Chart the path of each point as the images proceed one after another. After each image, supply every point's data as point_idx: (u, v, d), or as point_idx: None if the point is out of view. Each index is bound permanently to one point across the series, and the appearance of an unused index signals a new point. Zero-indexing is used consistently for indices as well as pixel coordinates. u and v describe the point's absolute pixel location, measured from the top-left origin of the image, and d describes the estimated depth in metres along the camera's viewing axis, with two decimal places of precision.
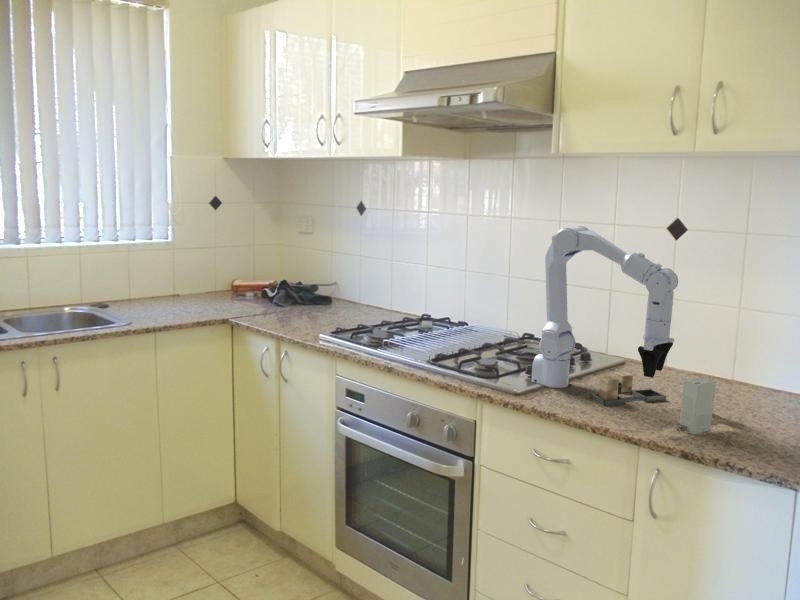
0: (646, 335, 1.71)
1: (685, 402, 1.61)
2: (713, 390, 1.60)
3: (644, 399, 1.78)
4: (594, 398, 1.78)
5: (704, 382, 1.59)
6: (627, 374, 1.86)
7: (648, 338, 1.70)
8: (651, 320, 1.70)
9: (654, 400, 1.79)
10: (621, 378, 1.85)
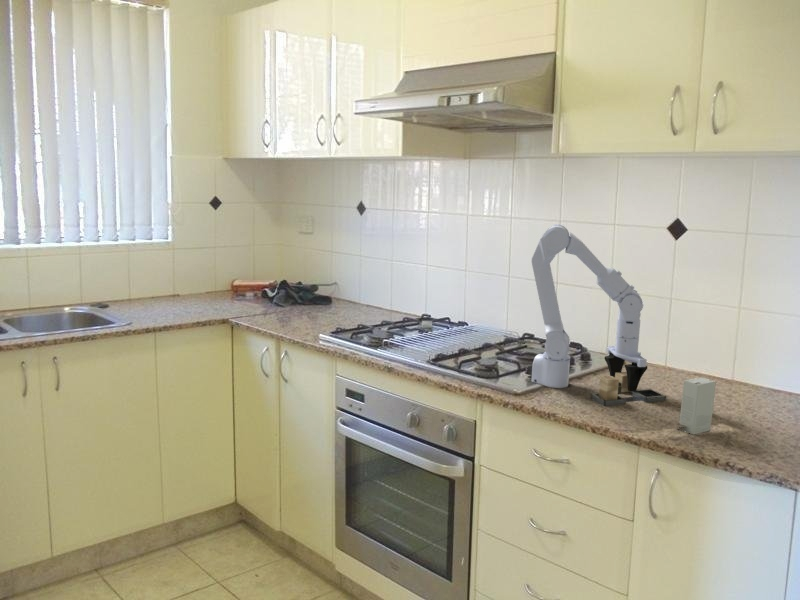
0: (624, 353, 1.83)
1: (685, 402, 1.61)
2: (713, 390, 1.60)
3: (644, 399, 1.78)
4: (594, 398, 1.78)
5: (704, 382, 1.59)
6: None
7: (628, 356, 1.83)
8: (630, 339, 1.82)
9: (654, 400, 1.79)
10: (621, 378, 1.85)
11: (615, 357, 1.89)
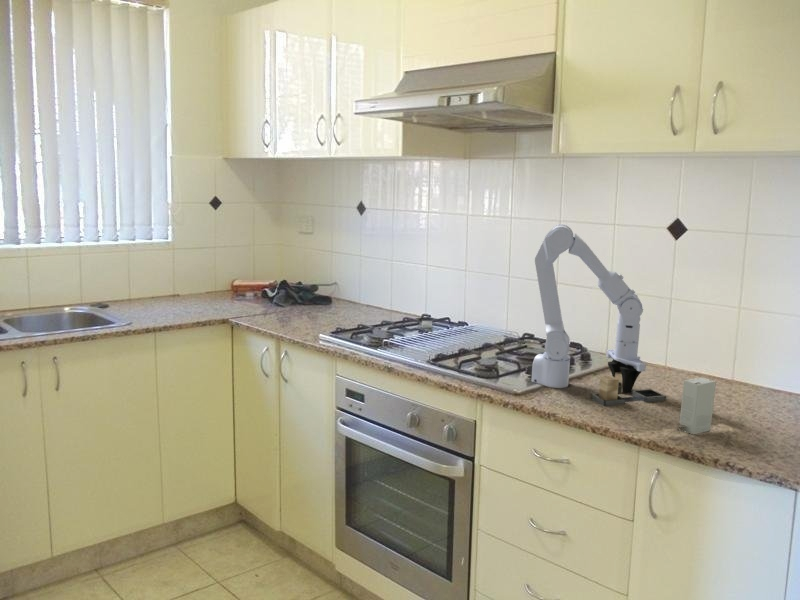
0: (624, 357, 1.83)
1: (685, 402, 1.61)
2: (713, 390, 1.60)
3: (644, 399, 1.78)
4: (594, 398, 1.78)
5: (704, 382, 1.59)
6: None
7: (627, 360, 1.83)
8: (630, 343, 1.82)
9: (654, 400, 1.79)
10: (621, 378, 1.85)
11: (618, 363, 1.88)
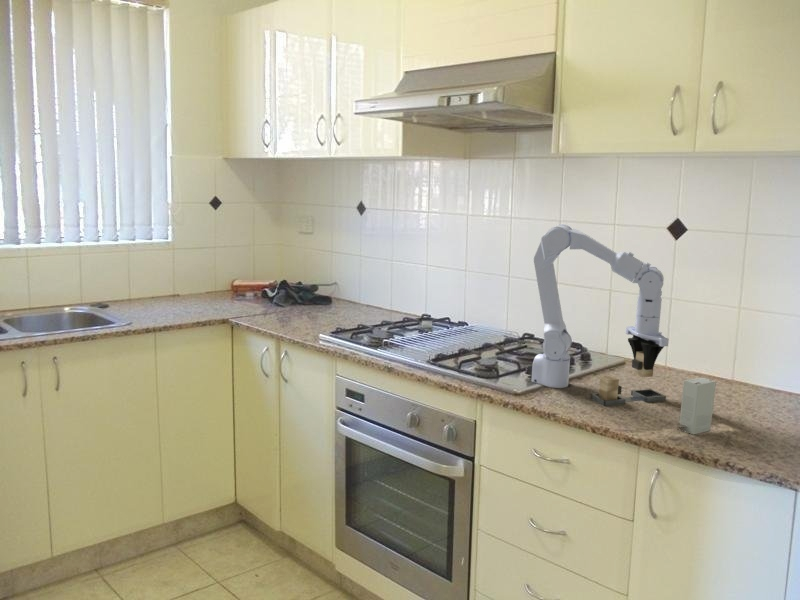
0: (645, 333, 1.78)
1: (685, 402, 1.61)
2: (713, 390, 1.60)
3: (644, 399, 1.78)
4: (594, 398, 1.78)
5: (704, 382, 1.59)
6: None
7: (649, 335, 1.77)
8: (651, 318, 1.77)
9: (654, 400, 1.79)
10: (642, 356, 1.80)
11: (639, 339, 1.82)
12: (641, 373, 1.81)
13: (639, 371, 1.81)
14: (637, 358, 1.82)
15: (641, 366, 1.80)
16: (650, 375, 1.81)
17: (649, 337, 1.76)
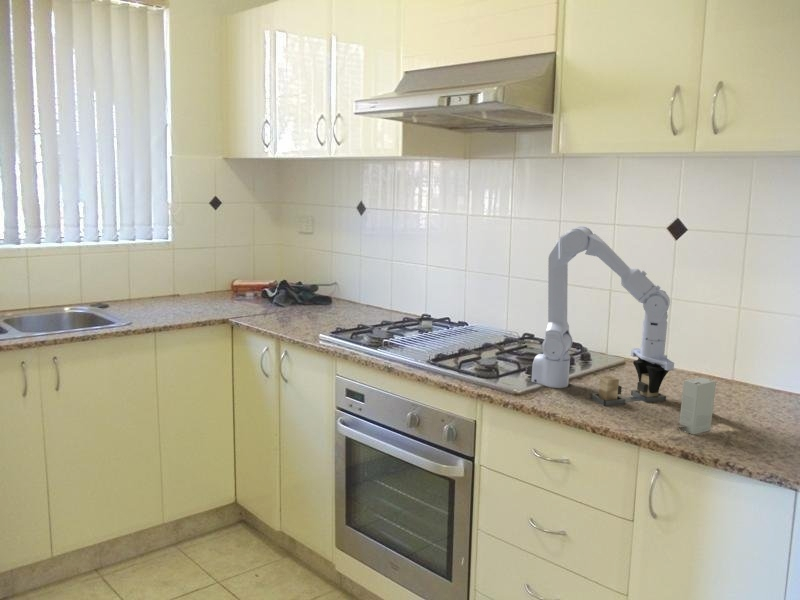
0: (650, 356, 1.77)
1: (685, 402, 1.61)
2: (713, 390, 1.60)
3: (644, 399, 1.78)
4: (594, 398, 1.78)
5: (704, 382, 1.59)
6: None
7: (654, 358, 1.77)
8: (657, 341, 1.76)
9: (654, 400, 1.79)
10: (648, 379, 1.79)
11: (644, 362, 1.81)
12: (646, 396, 1.80)
13: (644, 394, 1.81)
14: (642, 380, 1.81)
15: (646, 389, 1.79)
16: None
17: (654, 361, 1.76)
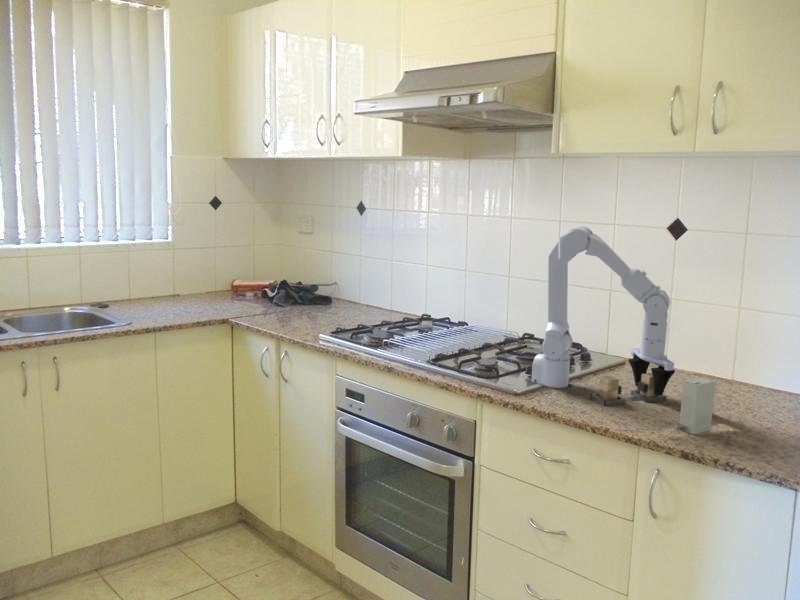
0: (650, 356, 1.77)
1: (685, 402, 1.61)
2: (713, 390, 1.60)
3: (644, 399, 1.78)
4: (594, 398, 1.78)
5: (704, 382, 1.59)
6: None
7: (654, 358, 1.77)
8: (657, 341, 1.76)
9: (654, 400, 1.79)
10: (648, 379, 1.79)
11: (640, 360, 1.83)
12: (646, 396, 1.80)
13: (644, 394, 1.81)
14: (642, 380, 1.81)
15: (646, 389, 1.79)
16: None
17: (654, 361, 1.76)
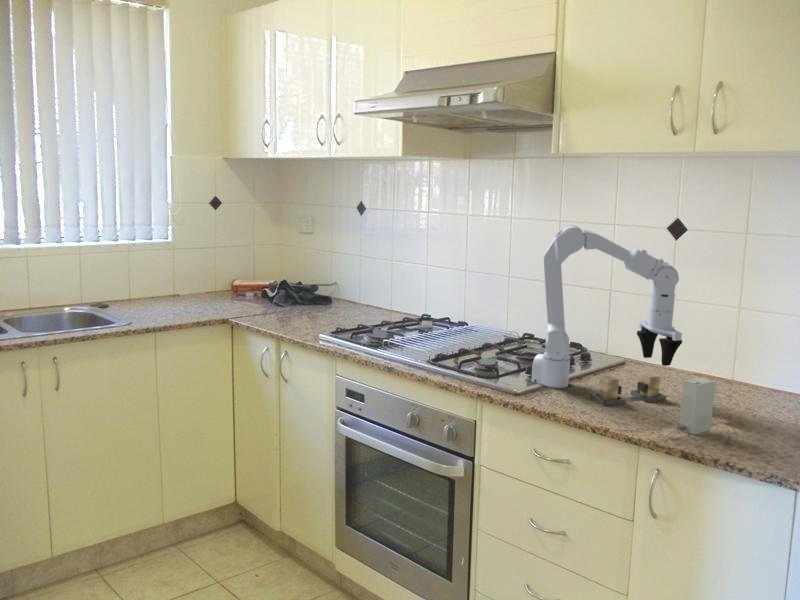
0: (658, 327, 1.81)
1: (685, 402, 1.61)
2: (713, 390, 1.60)
3: (644, 399, 1.78)
4: (594, 398, 1.78)
5: (704, 382, 1.59)
6: (654, 375, 1.80)
7: (662, 329, 1.80)
8: (665, 312, 1.80)
9: (654, 400, 1.79)
10: (648, 379, 1.79)
11: (648, 332, 1.87)
12: (646, 396, 1.80)
13: (644, 394, 1.81)
14: (642, 380, 1.81)
15: (646, 389, 1.79)
16: None
17: (662, 331, 1.79)
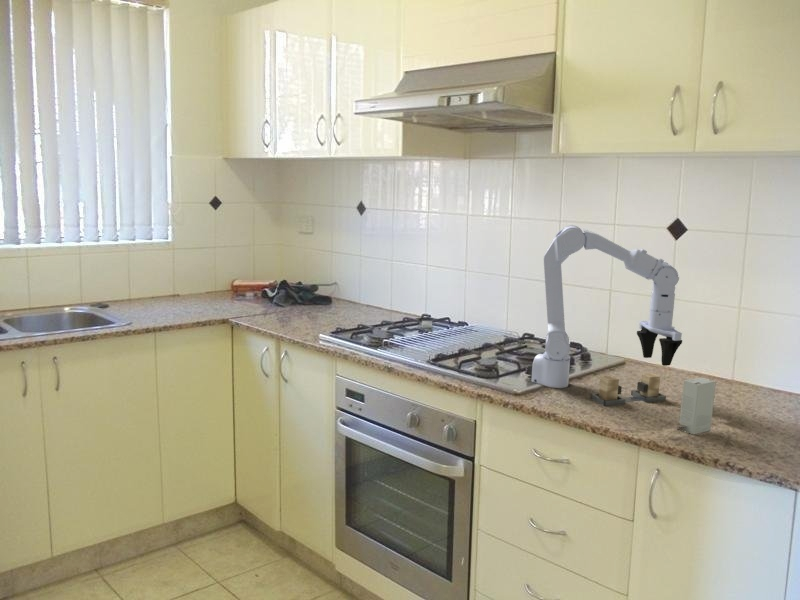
0: (658, 327, 1.81)
1: (685, 402, 1.61)
2: (713, 390, 1.60)
3: (644, 399, 1.78)
4: (594, 398, 1.78)
5: (704, 382, 1.59)
6: (654, 375, 1.80)
7: (662, 329, 1.80)
8: (665, 312, 1.80)
9: (654, 400, 1.79)
10: (648, 379, 1.79)
11: (648, 332, 1.87)
12: (646, 396, 1.80)
13: (644, 394, 1.81)
14: (642, 380, 1.81)
15: (646, 389, 1.79)
16: None
17: (662, 331, 1.79)
